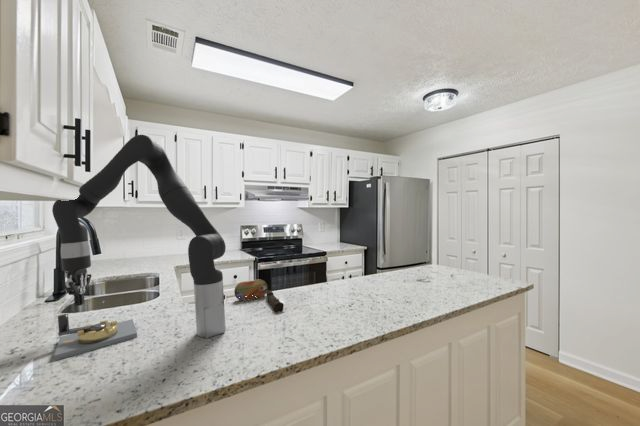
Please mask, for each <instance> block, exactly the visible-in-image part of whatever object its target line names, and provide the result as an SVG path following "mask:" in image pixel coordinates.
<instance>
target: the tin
mask: <svg viewBox="0 0 640 426" xmlns="http://www.w3.org/2000/svg"><path fill="white" fill-rule="evenodd" d="M268 288H269V286H268V284H267V282H266V281H265V280H264V279H260V278H259V279H258V278H257V279H253V280H246V281H241V282H239V283H237V284H236V286H235V287H234V292H233V294H234V296H235V298H236V299H237V300H238V301H240V302H243V301H242V300H246V301H249V300H248V299H251V300H254V299H255V298H256V297H258V298H256V299H260V298H263V297H264V296H266V295H267V294H266V291H267V290H269V289H268ZM252 295H253V296H252ZM245 296H247V297H245ZM255 296H256V297H255ZM239 297H240V298H239ZM256 299H255V300H256Z"/></svg>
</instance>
